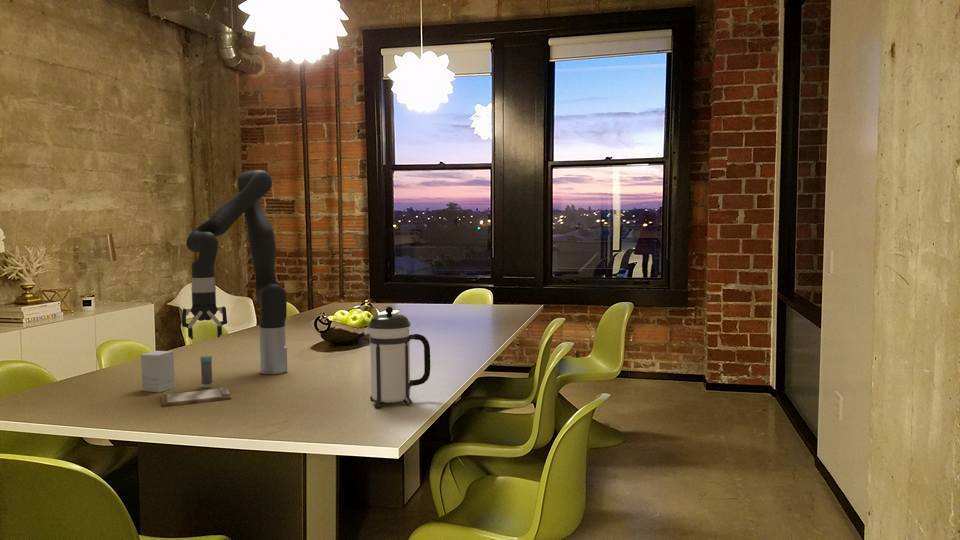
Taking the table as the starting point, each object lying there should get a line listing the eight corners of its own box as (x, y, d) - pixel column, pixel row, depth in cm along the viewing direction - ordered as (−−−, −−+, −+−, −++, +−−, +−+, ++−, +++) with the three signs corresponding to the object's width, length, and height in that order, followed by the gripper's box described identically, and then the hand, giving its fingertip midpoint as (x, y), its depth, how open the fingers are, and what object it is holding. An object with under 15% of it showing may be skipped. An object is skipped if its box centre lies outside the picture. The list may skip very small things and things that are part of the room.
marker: (212, 385, 235) (211, 355, 234) (213, 387, 231) (212, 357, 231) (201, 386, 233) (200, 356, 232) (201, 388, 230) (200, 358, 229)
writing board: (227, 390, 228) (227, 385, 227) (231, 399, 216) (231, 394, 216) (162, 397, 219) (161, 392, 219) (161, 406, 207) (161, 402, 207)
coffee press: (397, 412, 199) (395, 311, 197) (356, 405, 207) (354, 307, 205) (432, 399, 214) (430, 304, 212) (392, 392, 222) (390, 301, 220)
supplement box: (175, 387, 232) (174, 351, 231) (159, 392, 225) (157, 355, 224) (158, 386, 234) (157, 350, 233) (141, 391, 227) (140, 354, 226)
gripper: (225, 288, 236) (226, 334, 237) (180, 290, 230) (182, 337, 232) (226, 290, 230) (228, 338, 231) (180, 292, 224) (182, 341, 225)
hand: (205, 337), depth 231 cm, fingers open, 8 cm apart
